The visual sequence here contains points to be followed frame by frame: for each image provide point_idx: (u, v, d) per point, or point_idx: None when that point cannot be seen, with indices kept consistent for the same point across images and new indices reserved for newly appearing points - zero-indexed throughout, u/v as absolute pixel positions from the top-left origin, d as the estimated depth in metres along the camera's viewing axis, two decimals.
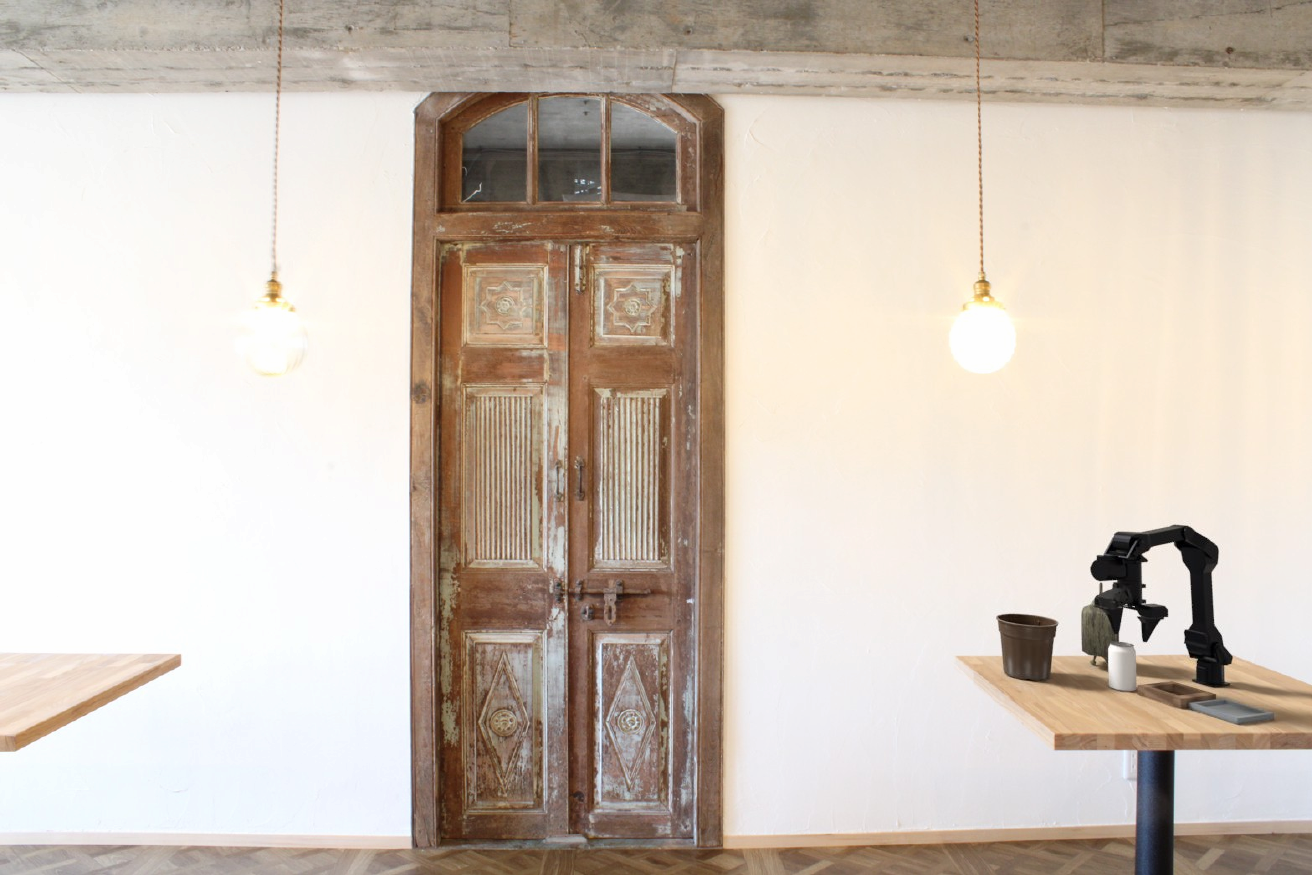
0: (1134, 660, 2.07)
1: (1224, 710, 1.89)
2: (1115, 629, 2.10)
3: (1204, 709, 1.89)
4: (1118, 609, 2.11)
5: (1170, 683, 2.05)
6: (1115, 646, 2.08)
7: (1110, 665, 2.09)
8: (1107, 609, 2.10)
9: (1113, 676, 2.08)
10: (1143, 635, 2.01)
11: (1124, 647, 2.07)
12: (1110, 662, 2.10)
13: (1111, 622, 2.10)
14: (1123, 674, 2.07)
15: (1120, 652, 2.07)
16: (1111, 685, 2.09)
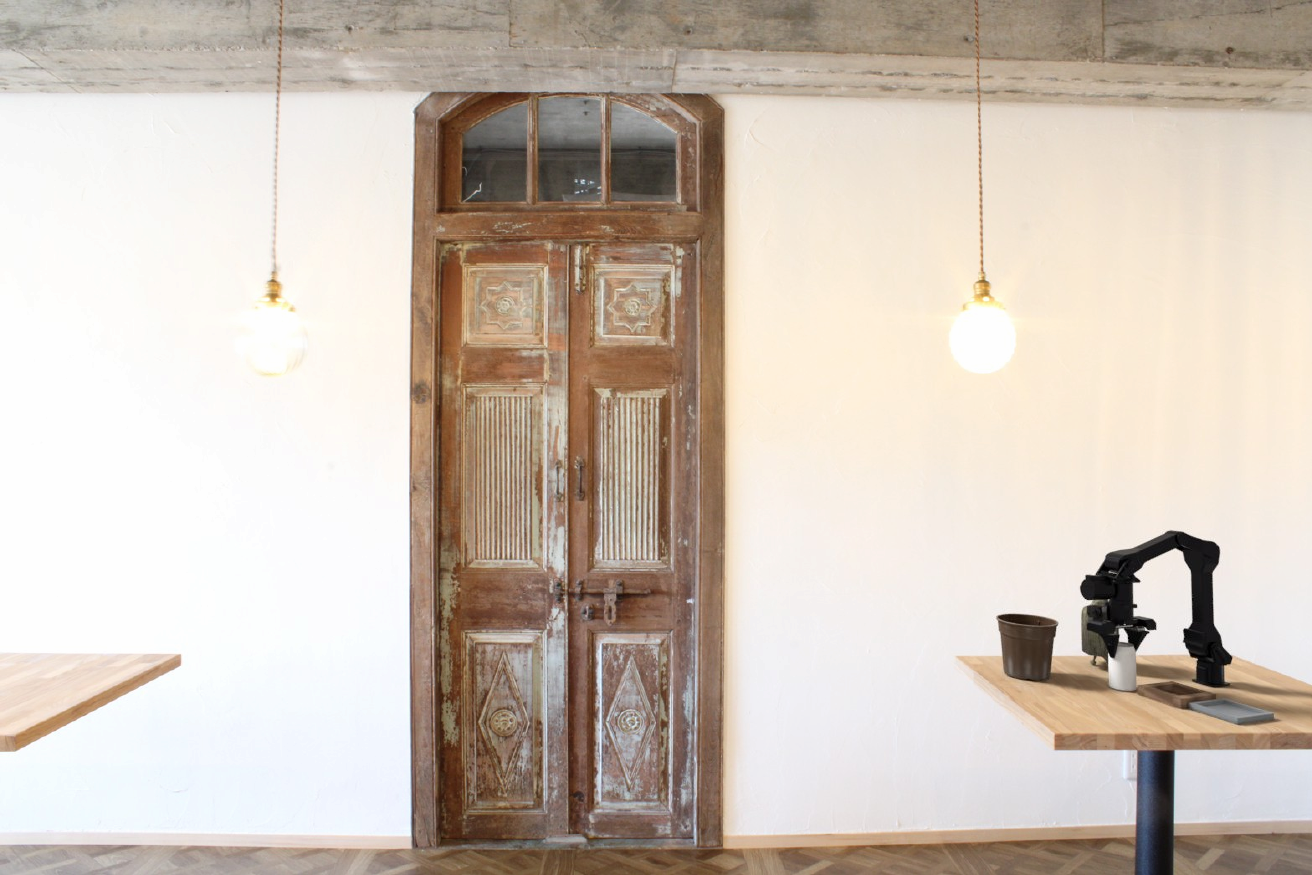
0: (1134, 660, 2.07)
1: (1224, 710, 1.89)
2: None
3: (1204, 709, 1.89)
4: (1136, 632, 2.10)
5: (1170, 683, 2.05)
6: None
7: (1110, 665, 2.09)
8: (1125, 629, 2.13)
9: (1113, 676, 2.08)
10: None
11: (1124, 647, 2.07)
12: (1110, 662, 2.10)
13: None
14: (1123, 673, 2.07)
15: (1120, 652, 2.07)
16: (1111, 685, 2.09)
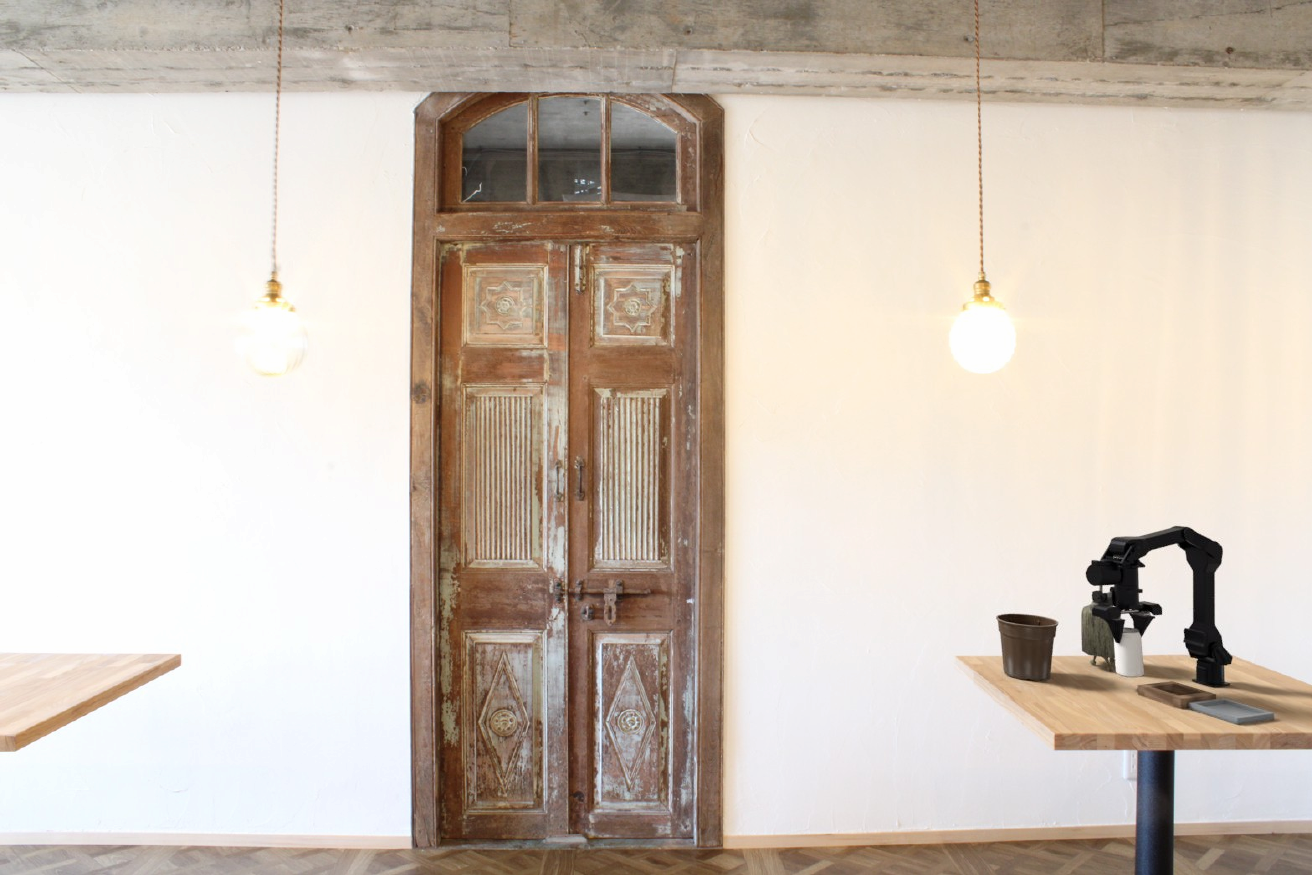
0: (1140, 645, 2.06)
1: (1224, 710, 1.89)
2: None
3: (1204, 709, 1.89)
4: (1142, 617, 2.09)
5: (1170, 683, 2.05)
6: None
7: (1116, 651, 2.09)
8: (1131, 614, 2.12)
9: (1120, 662, 2.08)
10: None
11: (1129, 633, 2.06)
12: (1116, 648, 2.09)
13: None
14: (1129, 660, 2.06)
15: (1125, 638, 2.06)
16: (1118, 671, 2.08)
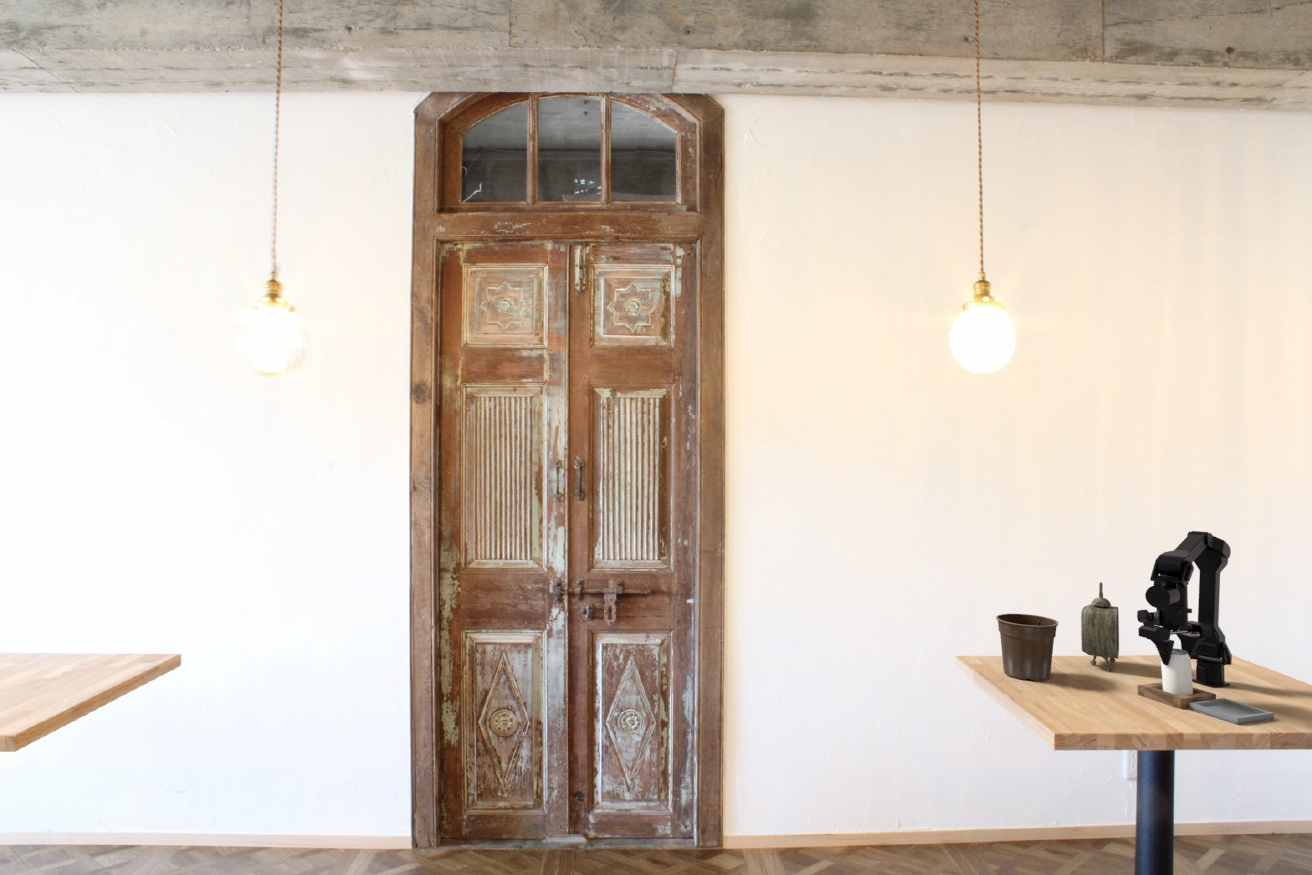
0: (1189, 668, 1.97)
1: (1224, 710, 1.89)
2: None
3: (1204, 709, 1.89)
4: (1191, 638, 2.00)
5: None
6: None
7: (1164, 673, 2.00)
8: (1178, 634, 2.04)
9: (1168, 685, 1.99)
10: None
11: (1178, 655, 1.98)
12: (1164, 671, 2.00)
13: None
14: (1179, 683, 1.97)
15: (1174, 660, 1.98)
16: None
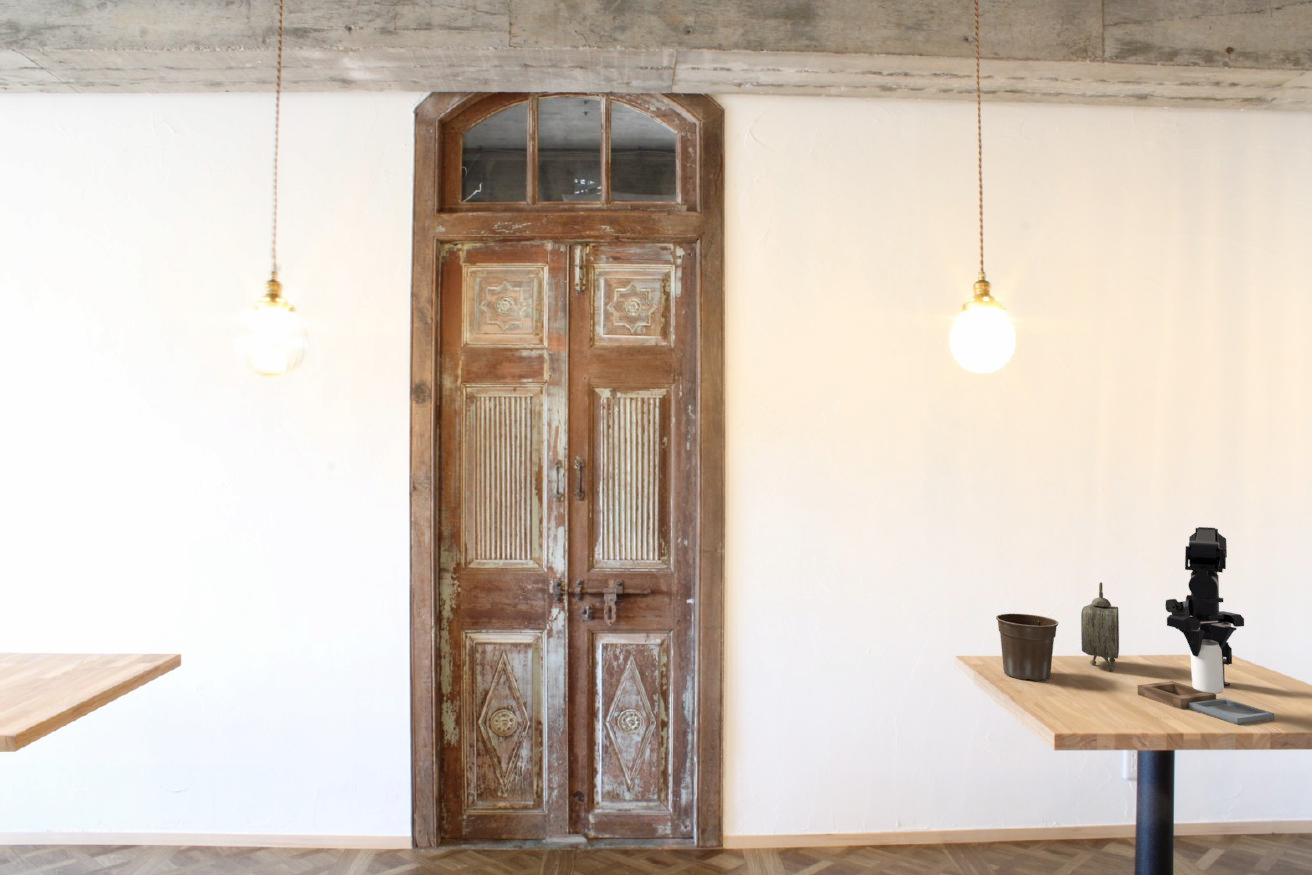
0: (1220, 659, 1.91)
1: (1224, 710, 1.89)
2: None
3: (1204, 709, 1.89)
4: (1222, 629, 1.93)
5: (1170, 683, 2.05)
6: None
7: (1194, 665, 1.93)
8: (1209, 625, 1.97)
9: (1198, 677, 1.92)
10: None
11: (1209, 645, 1.91)
12: (1193, 662, 1.93)
13: None
14: (1209, 674, 1.91)
15: (1204, 651, 1.91)
16: (1195, 687, 1.93)
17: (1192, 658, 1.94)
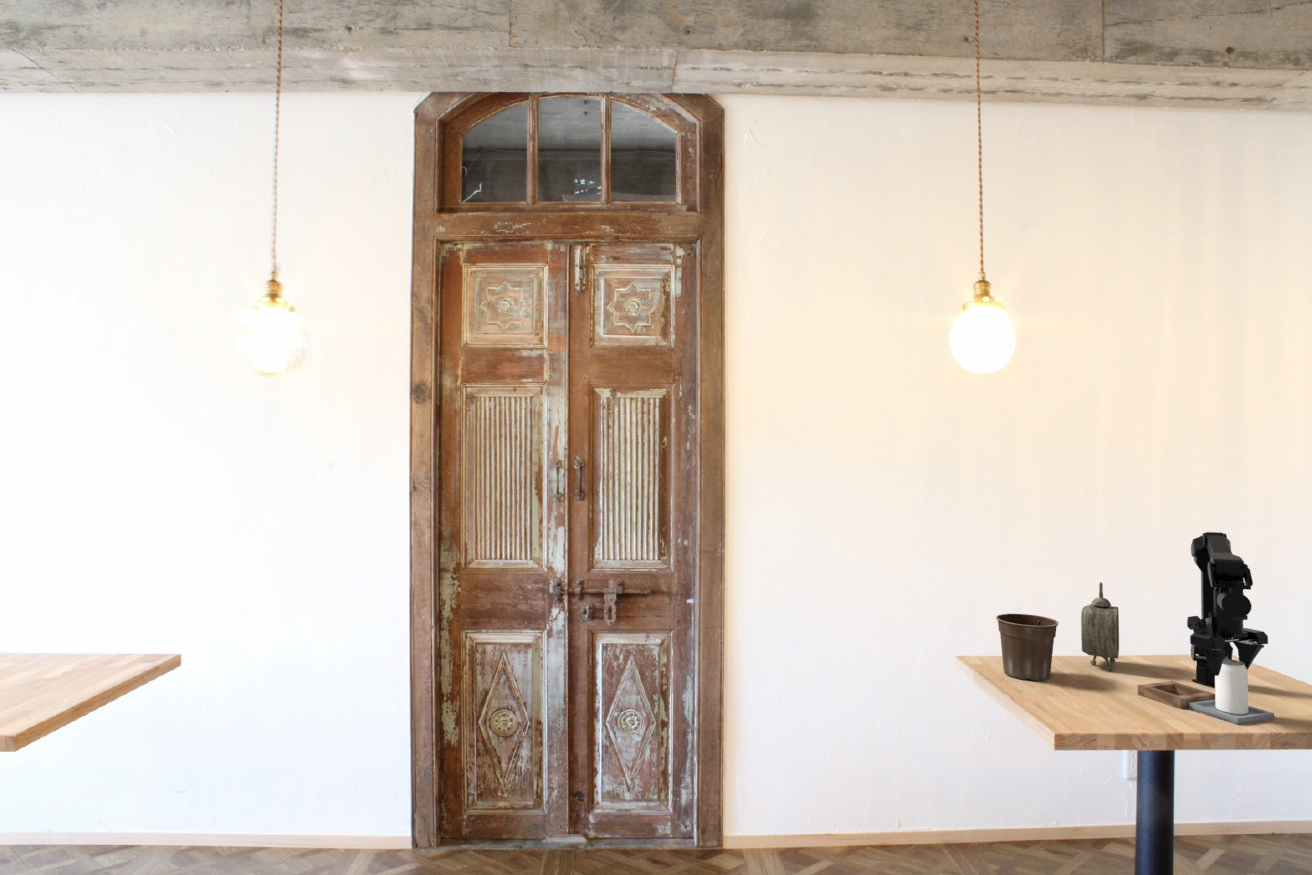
0: (1246, 680, 1.86)
1: None
2: None
3: (1204, 709, 1.89)
4: (1249, 646, 1.89)
5: (1170, 683, 2.05)
6: (1224, 664, 1.88)
7: (1218, 685, 1.89)
8: (1235, 642, 1.93)
9: (1222, 697, 1.88)
10: None
11: (1235, 665, 1.87)
12: (1218, 682, 1.89)
13: None
14: (1234, 695, 1.86)
15: (1230, 671, 1.87)
16: (1219, 707, 1.89)
17: (1217, 678, 1.89)
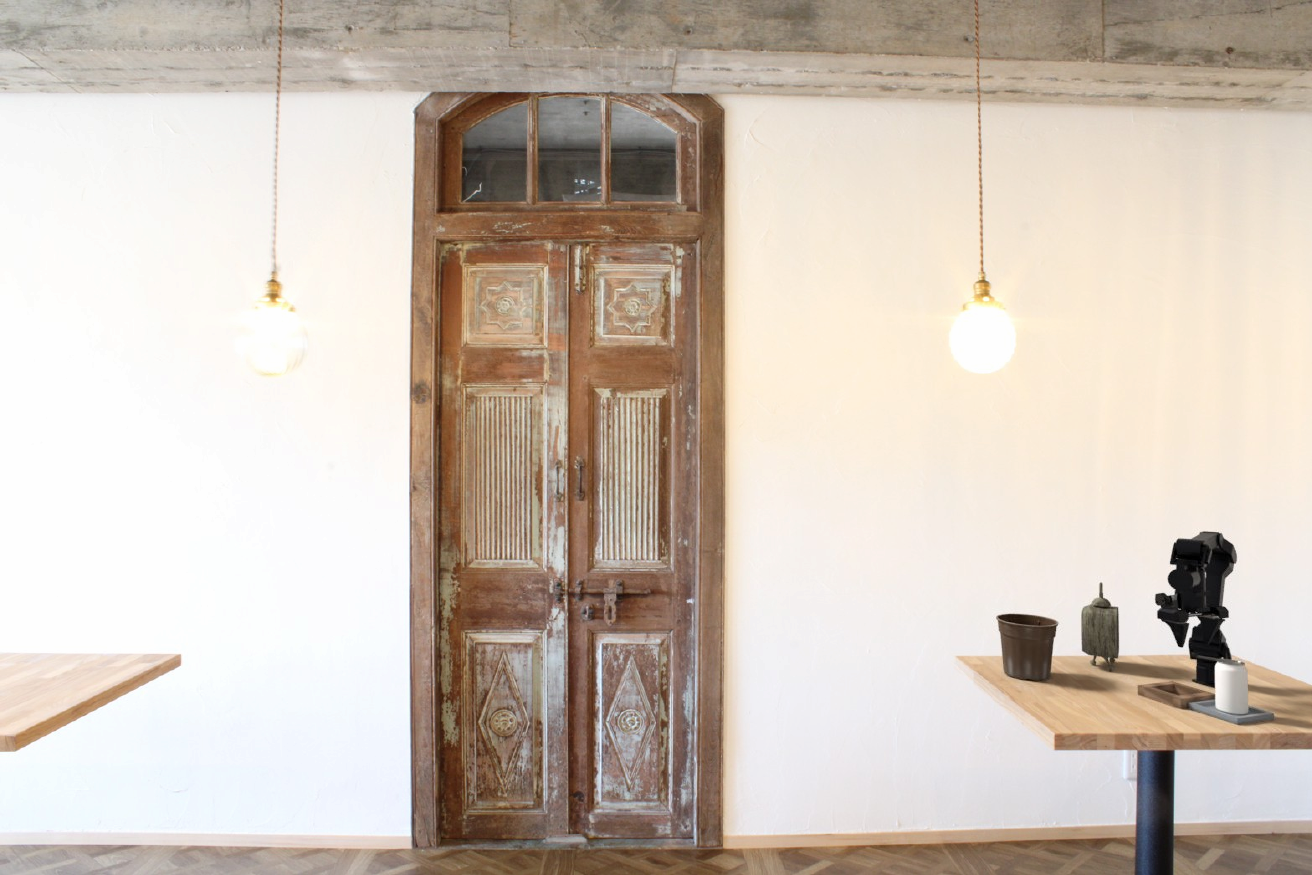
0: (1246, 680, 1.86)
1: None
2: (1204, 638, 2.06)
3: (1204, 709, 1.89)
4: (1211, 620, 2.04)
5: (1170, 683, 2.05)
6: (1224, 664, 1.88)
7: (1218, 685, 1.89)
8: (1199, 617, 2.08)
9: (1222, 697, 1.88)
10: None
11: (1235, 665, 1.87)
12: (1218, 682, 1.89)
13: None
14: (1234, 695, 1.86)
15: (1230, 671, 1.87)
16: (1219, 707, 1.89)
17: (1217, 678, 1.89)
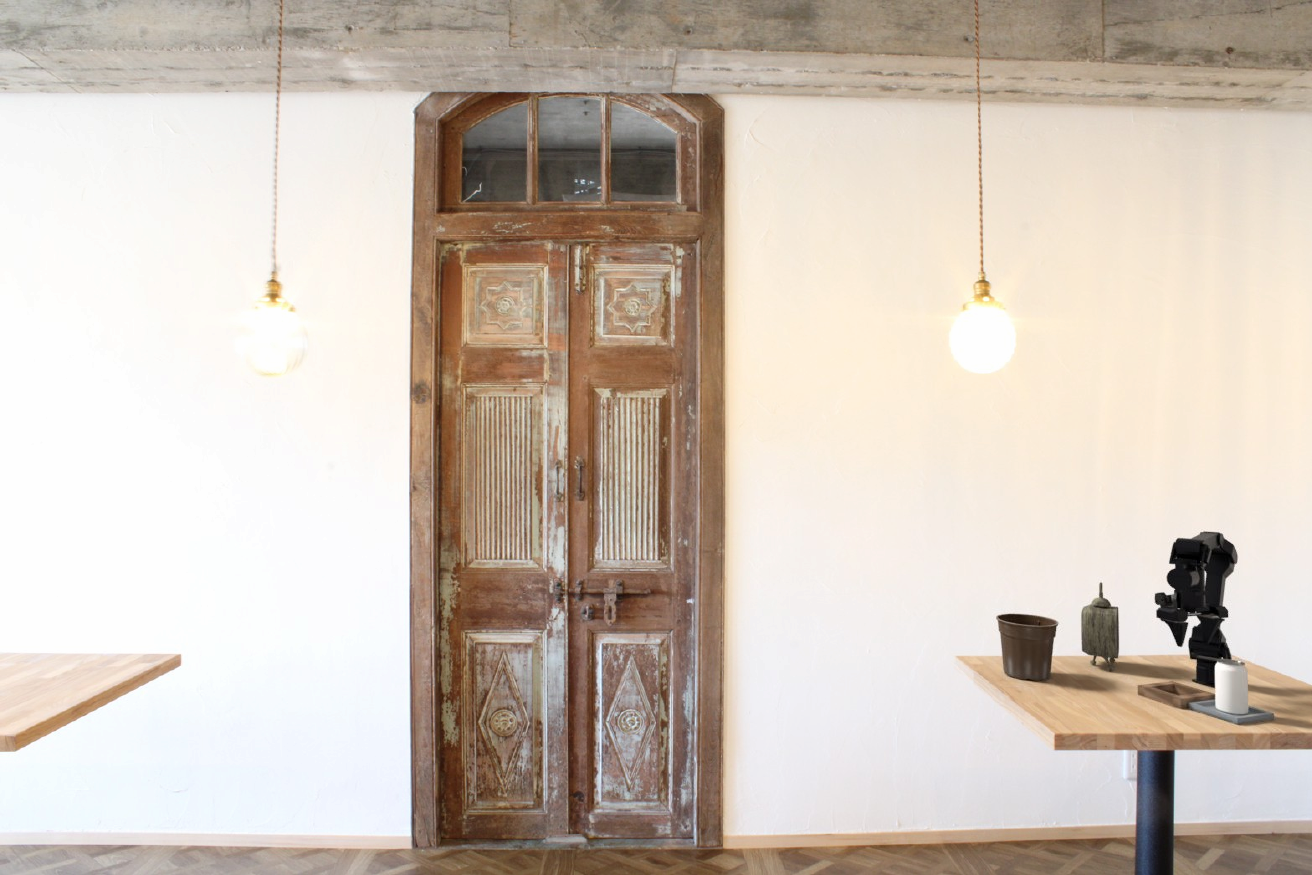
0: (1246, 680, 1.86)
1: None
2: (1203, 638, 2.06)
3: (1204, 709, 1.89)
4: (1211, 620, 2.04)
5: (1170, 683, 2.05)
6: (1224, 664, 1.88)
7: (1218, 685, 1.89)
8: (1198, 616, 2.08)
9: (1222, 697, 1.88)
10: None
11: (1235, 665, 1.87)
12: (1218, 682, 1.89)
13: None
14: (1234, 695, 1.86)
15: (1230, 671, 1.87)
16: (1219, 707, 1.89)
17: (1217, 678, 1.89)
